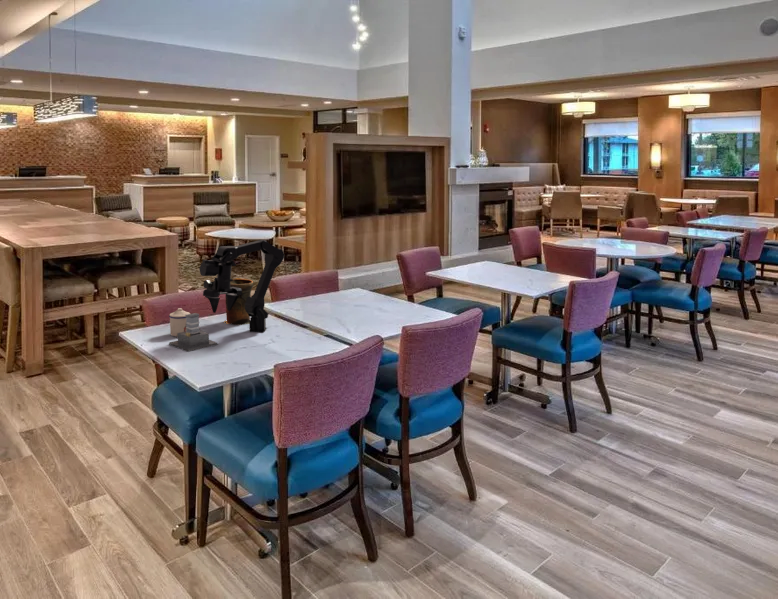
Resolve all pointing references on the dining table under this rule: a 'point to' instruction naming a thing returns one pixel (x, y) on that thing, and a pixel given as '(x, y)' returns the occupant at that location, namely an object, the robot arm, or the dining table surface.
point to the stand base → (193, 341)
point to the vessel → (239, 303)
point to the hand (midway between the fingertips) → (221, 311)
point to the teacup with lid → (178, 322)
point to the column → (192, 323)
